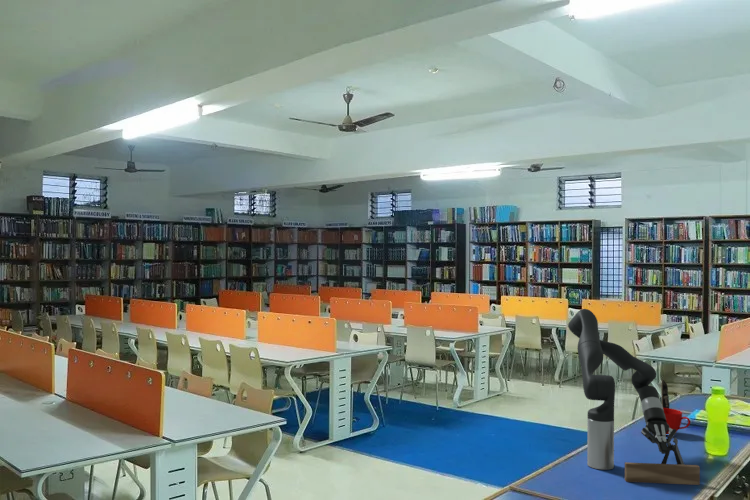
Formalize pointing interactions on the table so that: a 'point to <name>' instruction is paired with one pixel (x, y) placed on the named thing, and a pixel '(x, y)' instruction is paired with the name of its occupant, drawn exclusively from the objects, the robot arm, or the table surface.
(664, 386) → the statue
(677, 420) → the ceramic cup
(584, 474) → the table surface
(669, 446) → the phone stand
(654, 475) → the board
